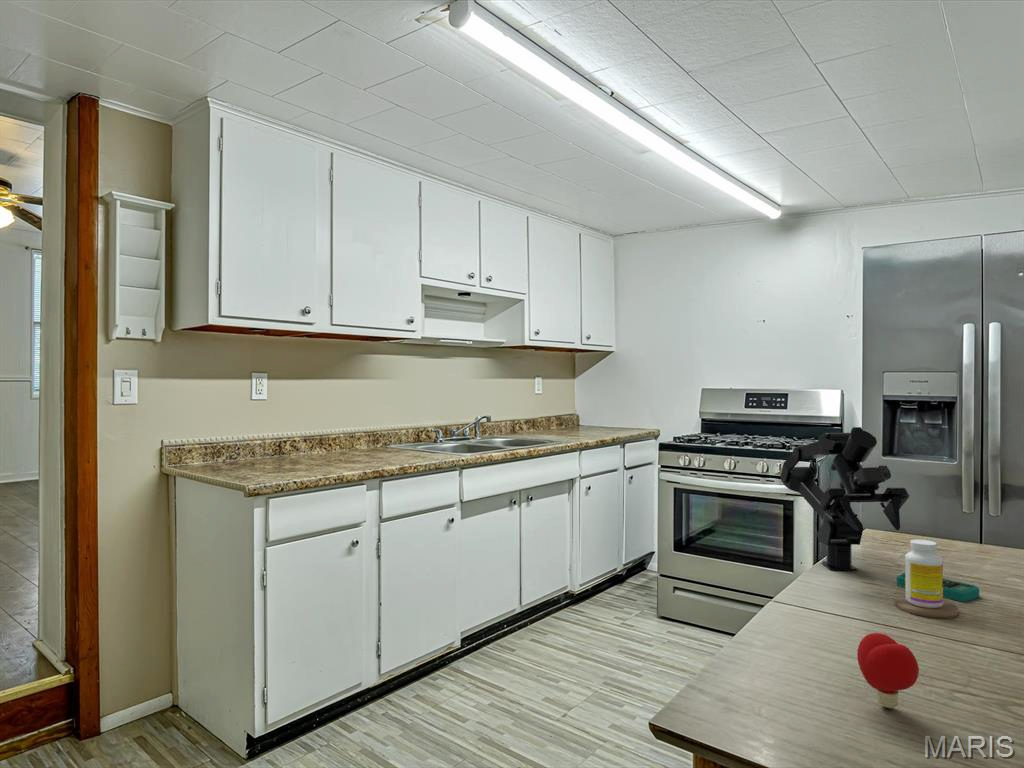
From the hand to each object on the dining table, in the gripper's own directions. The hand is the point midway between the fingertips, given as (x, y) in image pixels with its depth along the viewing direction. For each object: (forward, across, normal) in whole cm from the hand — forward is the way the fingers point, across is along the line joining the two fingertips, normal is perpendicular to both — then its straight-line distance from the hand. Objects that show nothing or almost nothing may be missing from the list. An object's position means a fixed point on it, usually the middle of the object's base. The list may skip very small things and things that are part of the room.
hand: (878, 529), depth 148 cm
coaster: (+19, +2, 0) cm, 19 cm away
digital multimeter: (+11, +12, +9) cm, 19 cm away
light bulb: (+48, -30, -28) cm, 63 cm away
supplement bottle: (+18, +2, 0) cm, 18 cm away
